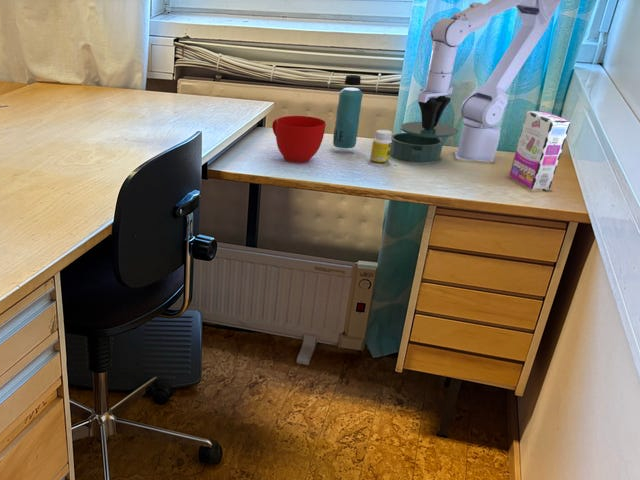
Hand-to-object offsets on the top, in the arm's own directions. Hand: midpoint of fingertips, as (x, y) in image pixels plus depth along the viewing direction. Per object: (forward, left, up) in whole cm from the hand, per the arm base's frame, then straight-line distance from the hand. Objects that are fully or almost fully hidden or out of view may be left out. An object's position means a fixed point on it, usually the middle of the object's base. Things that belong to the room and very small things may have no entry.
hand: (429, 127), depth 184 cm
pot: (+2, -5, -9) cm, 11 cm away
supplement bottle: (+11, +4, -10) cm, 15 cm away
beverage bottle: (+21, -6, -10) cm, 24 cm away
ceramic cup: (+34, +5, -10) cm, 36 cm away
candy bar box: (-25, +11, -10) cm, 29 cm away
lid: (0, 0, -1) cm, 1 cm away
